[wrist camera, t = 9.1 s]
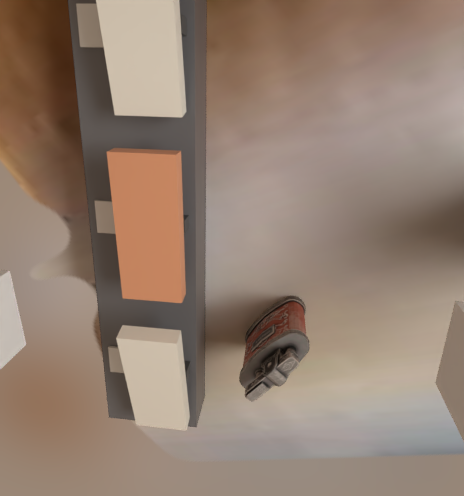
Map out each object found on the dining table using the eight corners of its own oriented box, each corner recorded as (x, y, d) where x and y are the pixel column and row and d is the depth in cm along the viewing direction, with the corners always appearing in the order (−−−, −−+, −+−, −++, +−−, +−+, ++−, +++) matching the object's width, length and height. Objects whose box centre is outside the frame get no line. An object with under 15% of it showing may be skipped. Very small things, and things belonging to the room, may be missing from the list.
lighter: (289, 289, 43) (291, 341, 33) (312, 309, 43) (320, 366, 34) (239, 334, 45) (227, 395, 36) (260, 353, 46) (255, 417, 37)
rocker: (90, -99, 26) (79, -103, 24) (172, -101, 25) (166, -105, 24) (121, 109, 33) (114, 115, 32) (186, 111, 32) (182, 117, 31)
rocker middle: (114, 147, 32) (106, 151, 31) (181, 150, 32) (176, 154, 30) (128, 289, 37) (122, 298, 36) (185, 293, 37) (181, 303, 35)
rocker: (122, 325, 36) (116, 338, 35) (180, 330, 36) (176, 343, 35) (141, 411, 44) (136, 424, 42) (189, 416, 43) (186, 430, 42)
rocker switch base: (85, -117, 33) (38, -168, 26) (207, -120, 32) (188, -174, 25) (125, 387, 50) (102, 428, 44) (204, 396, 49) (193, 439, 43)
